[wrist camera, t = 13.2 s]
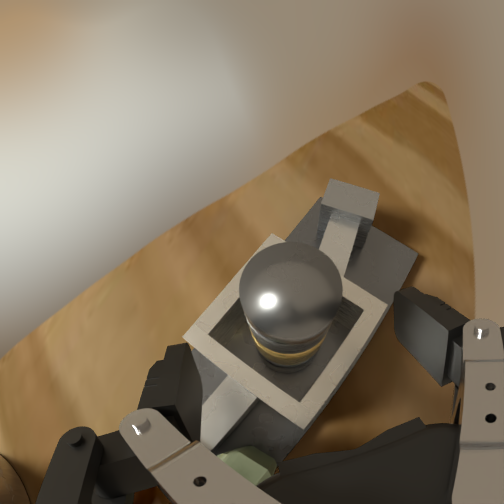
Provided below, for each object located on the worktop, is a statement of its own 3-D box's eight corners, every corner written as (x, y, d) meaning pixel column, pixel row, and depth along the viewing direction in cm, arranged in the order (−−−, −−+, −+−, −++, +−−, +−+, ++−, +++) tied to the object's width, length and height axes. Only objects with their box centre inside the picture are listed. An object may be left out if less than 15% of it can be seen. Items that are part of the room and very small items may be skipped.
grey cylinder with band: (278, 384, 19) (276, 358, 11) (244, 334, 21) (220, 274, 13) (331, 349, 20) (363, 298, 12) (295, 302, 22) (302, 226, 14)
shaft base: (237, 508, 16) (223, 531, 11) (135, 422, 19) (99, 420, 15) (414, 258, 23) (437, 222, 19) (320, 203, 26) (325, 160, 22)
